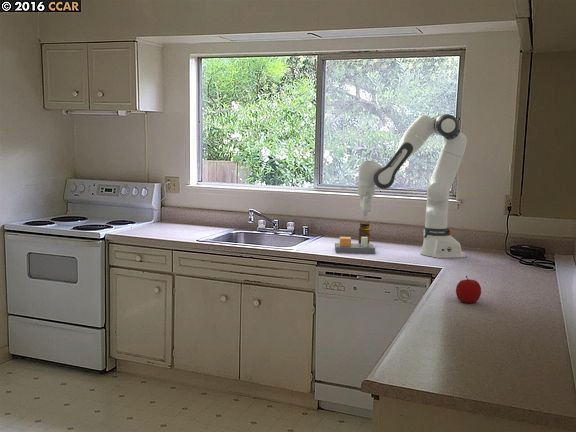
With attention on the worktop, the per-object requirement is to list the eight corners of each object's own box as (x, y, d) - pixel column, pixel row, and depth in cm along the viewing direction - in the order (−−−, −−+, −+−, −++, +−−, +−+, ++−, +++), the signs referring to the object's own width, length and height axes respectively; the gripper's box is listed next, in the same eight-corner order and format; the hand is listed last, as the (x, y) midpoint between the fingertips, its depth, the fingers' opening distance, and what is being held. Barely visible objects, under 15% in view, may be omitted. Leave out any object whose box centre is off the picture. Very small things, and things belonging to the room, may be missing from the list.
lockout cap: (350, 244, 326) (350, 236, 325) (350, 246, 320) (351, 238, 319) (339, 244, 326) (339, 236, 325) (340, 246, 320) (340, 238, 320)
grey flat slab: (372, 249, 329) (372, 242, 328) (374, 254, 317) (375, 247, 316) (334, 248, 329) (334, 241, 329) (335, 252, 317) (336, 246, 317)
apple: (469, 306, 225) (471, 279, 224) (449, 300, 232) (451, 274, 231) (485, 303, 230) (487, 276, 229) (465, 297, 238) (467, 271, 236)
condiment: (372, 245, 342) (373, 223, 340) (362, 246, 336) (363, 225, 335) (362, 243, 347) (363, 221, 346) (352, 244, 341) (353, 223, 340)
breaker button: (366, 246, 324) (367, 236, 323) (367, 247, 321) (367, 237, 320) (361, 246, 324) (361, 236, 323) (361, 247, 321) (362, 237, 321)
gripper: (374, 194, 308) (373, 221, 310) (370, 189, 328) (368, 215, 330) (362, 193, 308) (360, 220, 310) (358, 189, 329) (357, 215, 331)
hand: (364, 218), depth 321 cm, fingers closed
